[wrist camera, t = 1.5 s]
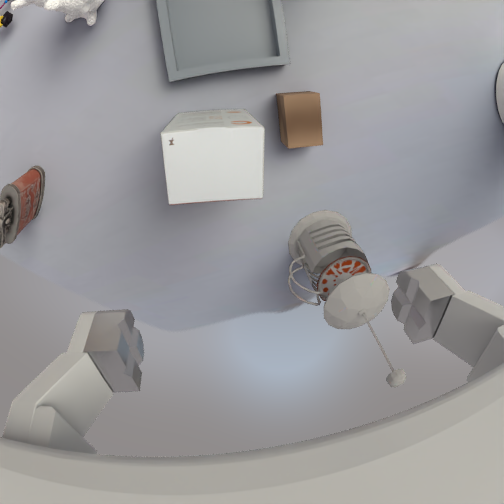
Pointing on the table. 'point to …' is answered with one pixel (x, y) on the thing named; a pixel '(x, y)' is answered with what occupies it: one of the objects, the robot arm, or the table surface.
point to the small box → (213, 156)
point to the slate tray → (221, 35)
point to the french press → (339, 275)
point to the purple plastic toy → (5, 17)
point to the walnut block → (300, 119)
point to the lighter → (20, 203)
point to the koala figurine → (66, 8)
